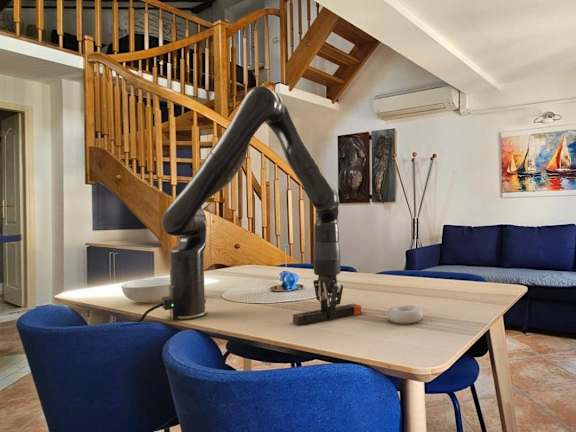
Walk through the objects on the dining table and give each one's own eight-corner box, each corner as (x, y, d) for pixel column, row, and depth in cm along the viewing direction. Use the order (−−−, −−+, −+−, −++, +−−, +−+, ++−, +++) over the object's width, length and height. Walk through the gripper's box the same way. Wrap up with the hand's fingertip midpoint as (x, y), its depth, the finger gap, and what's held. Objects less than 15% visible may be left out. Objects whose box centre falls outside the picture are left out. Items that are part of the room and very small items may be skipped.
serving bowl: (149, 294, 161) (149, 276, 161) (200, 294, 158) (200, 276, 158) (106, 306, 140) (106, 286, 140) (164, 307, 137) (163, 286, 137)
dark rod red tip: (298, 326, 111) (298, 317, 111) (292, 322, 115) (292, 314, 115) (361, 313, 123) (361, 305, 123) (353, 311, 126) (353, 303, 126)
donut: (418, 326, 108) (426, 316, 118) (417, 313, 108) (426, 304, 118) (381, 324, 112) (393, 314, 121) (381, 311, 111) (392, 302, 121)
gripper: (304, 256, 122) (305, 315, 122) (327, 260, 111) (328, 325, 111) (326, 254, 126) (328, 311, 127) (351, 258, 115) (352, 320, 115)
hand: (328, 317), depth 119 cm, fingers closed on dark rod red tip, 3 cm apart
